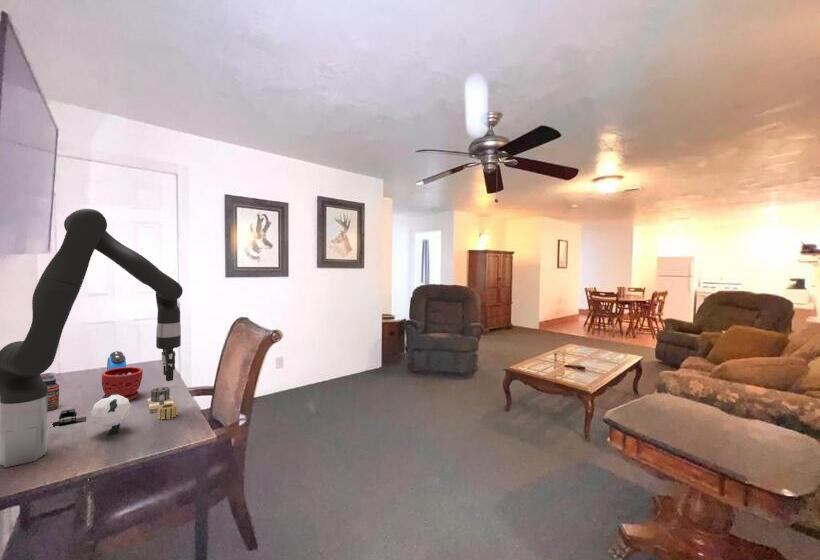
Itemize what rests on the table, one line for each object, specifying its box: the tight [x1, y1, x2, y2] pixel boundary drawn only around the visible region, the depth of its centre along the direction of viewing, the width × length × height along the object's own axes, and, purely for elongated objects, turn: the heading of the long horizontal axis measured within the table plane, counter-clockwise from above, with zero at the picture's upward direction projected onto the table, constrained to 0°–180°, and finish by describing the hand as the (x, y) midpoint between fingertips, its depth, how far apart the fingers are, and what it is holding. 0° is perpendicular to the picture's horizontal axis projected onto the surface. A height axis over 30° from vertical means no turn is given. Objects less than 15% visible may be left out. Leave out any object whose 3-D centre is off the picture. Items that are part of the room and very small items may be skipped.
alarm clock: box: [106, 350, 127, 375], centre depth 163 cm, size 13×6×15 cm, turn 44°
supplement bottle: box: [42, 377, 60, 412], centre depth 135 cm, size 6×6×11 cm
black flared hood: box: [52, 408, 87, 428], centre depth 125 cm, size 12×7×5 cm, turn 131°
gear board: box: [146, 386, 175, 414], centre depth 142 cm, size 14×8×6 cm, turn 39°
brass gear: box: [156, 402, 179, 421], centre depth 132 cm, size 6×6×4 cm
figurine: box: [90, 393, 132, 437], centre depth 118 cm, size 18×10×13 cm, turn 38°
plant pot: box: [101, 366, 143, 401], centre depth 147 cm, size 13×13×12 cm
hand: (168, 377), depth 132 cm, fingers open, 8 cm apart
